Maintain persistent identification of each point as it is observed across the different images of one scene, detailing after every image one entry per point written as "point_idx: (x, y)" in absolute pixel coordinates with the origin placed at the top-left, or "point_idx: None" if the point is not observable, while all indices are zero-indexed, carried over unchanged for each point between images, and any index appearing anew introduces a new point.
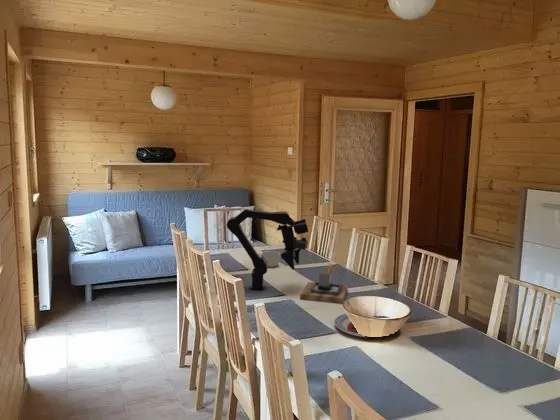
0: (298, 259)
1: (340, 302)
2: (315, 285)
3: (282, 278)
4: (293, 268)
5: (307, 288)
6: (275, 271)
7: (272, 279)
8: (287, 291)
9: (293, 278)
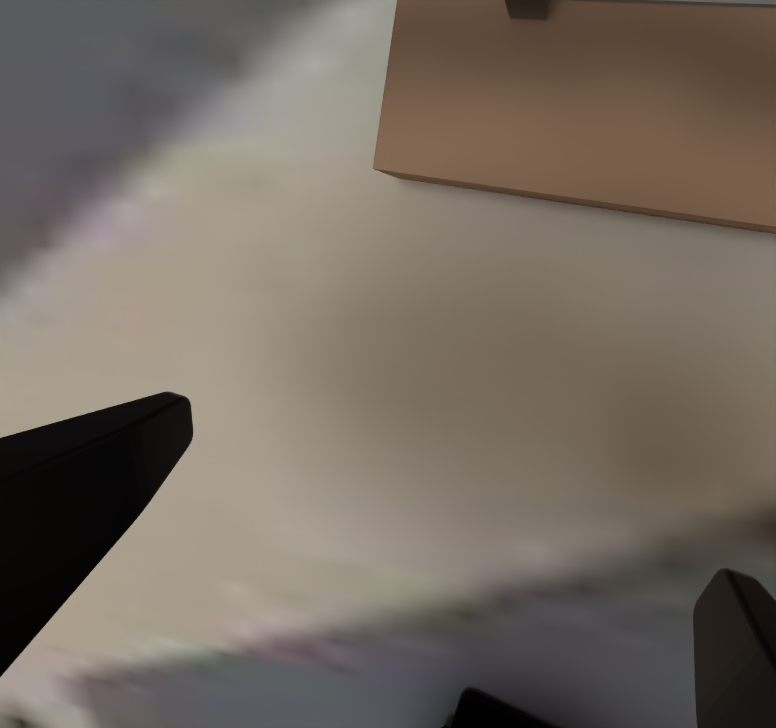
0: (87, 454)
1: None
2: (546, 20)
3: None
4: (772, 623)
5: (750, 157)
6: None
7: (210, 575)
8: (628, 460)
9: (135, 364)
